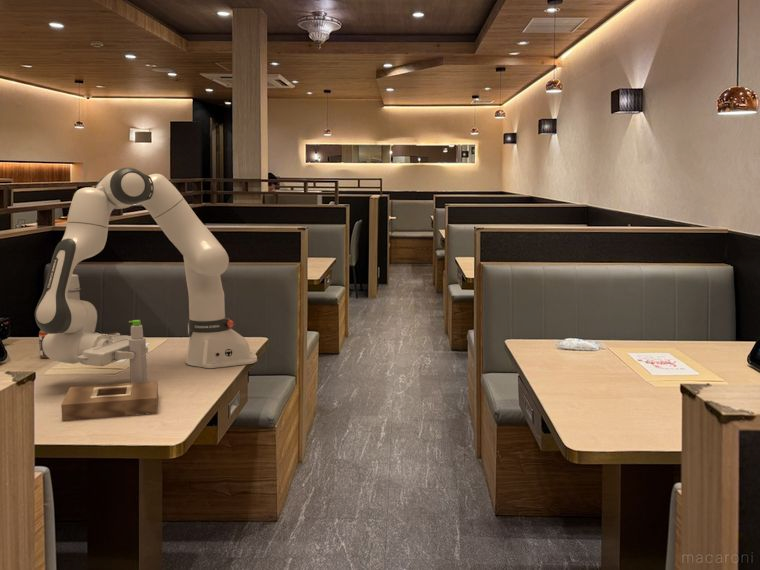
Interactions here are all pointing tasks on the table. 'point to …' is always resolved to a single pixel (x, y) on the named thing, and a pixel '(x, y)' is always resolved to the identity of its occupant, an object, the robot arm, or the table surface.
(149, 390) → the socket board
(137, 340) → the bottle
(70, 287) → the water bottle
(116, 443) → the table surface
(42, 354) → the supplement bottle
